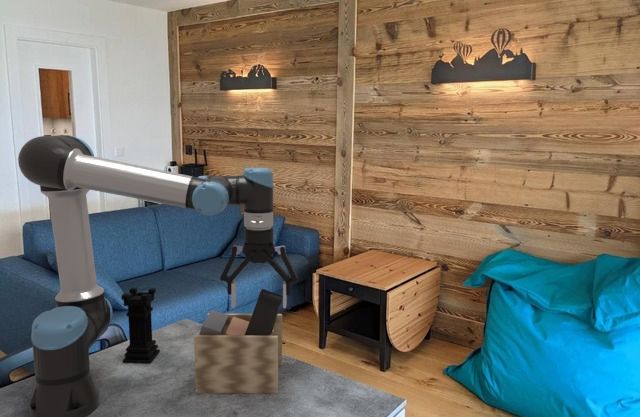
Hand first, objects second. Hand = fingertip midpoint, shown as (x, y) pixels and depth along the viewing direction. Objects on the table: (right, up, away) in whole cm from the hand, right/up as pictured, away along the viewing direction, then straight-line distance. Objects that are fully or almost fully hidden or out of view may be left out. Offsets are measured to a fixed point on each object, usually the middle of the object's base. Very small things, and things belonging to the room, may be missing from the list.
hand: (259, 306), depth 138 cm
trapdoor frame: (-5, -20, +3) cm, 21 cm away
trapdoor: (-7, -10, +1) cm, 12 cm away
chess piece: (-36, -18, +15) cm, 43 cm away
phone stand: (0, -8, +1) cm, 8 cm away
